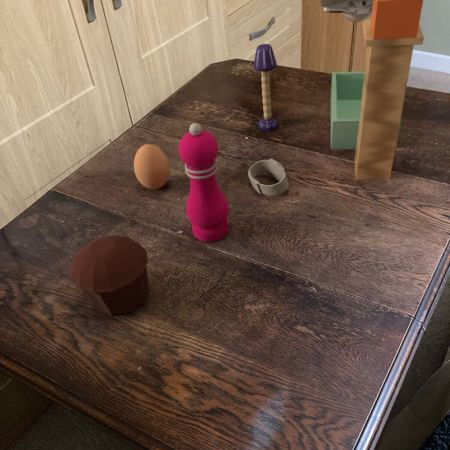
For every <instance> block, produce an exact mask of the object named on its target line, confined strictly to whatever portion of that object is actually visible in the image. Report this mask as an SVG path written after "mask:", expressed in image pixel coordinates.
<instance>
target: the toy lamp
mask: <svg viewBox="0 0 450 450" xmlns="http://www.w3.org/2000/svg"><path fill="white" fill-rule="evenodd" d="M253 60H254V61H253V70H255V71H257V72H260V74H261V79H260V81H261V90H262V91H261V97H262V104H263V106H262V110H263V117H262V118H260V120H259V121H258V126H257V128H258V129H259V130H261V131H263V132H269V131H272V130H275V129H276V128H278V121H277V119H276V118H274V117H273V116H272V105H271V104H272V99H271V90H270V89H271V84H270V81H271V80H270V79H271V78H270V71H273V70H274V69H276V67H277V66H278V65H277V63H278V62H277V60H276V56H275V52H274V48H273V46H272V45H271V44H270V43H262V44H258V46H256V49H255V55H254V59H253Z"/></svg>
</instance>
